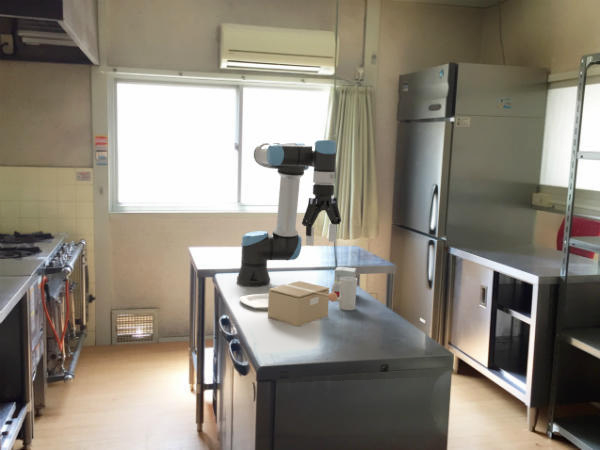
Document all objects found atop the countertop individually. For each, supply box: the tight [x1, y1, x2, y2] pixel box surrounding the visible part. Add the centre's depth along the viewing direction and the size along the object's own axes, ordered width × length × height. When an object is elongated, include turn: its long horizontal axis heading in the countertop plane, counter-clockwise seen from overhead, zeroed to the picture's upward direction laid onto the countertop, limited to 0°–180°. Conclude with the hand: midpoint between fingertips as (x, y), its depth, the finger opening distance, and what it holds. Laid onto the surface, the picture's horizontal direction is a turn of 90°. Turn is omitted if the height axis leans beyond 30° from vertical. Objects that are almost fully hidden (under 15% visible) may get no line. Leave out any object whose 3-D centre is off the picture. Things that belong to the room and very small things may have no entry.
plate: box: [239, 293, 269, 310], centre depth 224 cm, size 19×19×2 cm
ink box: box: [333, 266, 357, 298], centre depth 242 cm, size 9×9×12 cm
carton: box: [267, 289, 330, 327], centre depth 208 cm, size 14×18×10 cm
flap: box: [268, 280, 338, 303], centre depth 205 cm, size 24×18×3 cm
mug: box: [330, 277, 358, 311], centre depth 222 cm, size 10×7×12 cm, turn 101°
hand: (321, 243), depth 203 cm, fingers open, 13 cm apart
